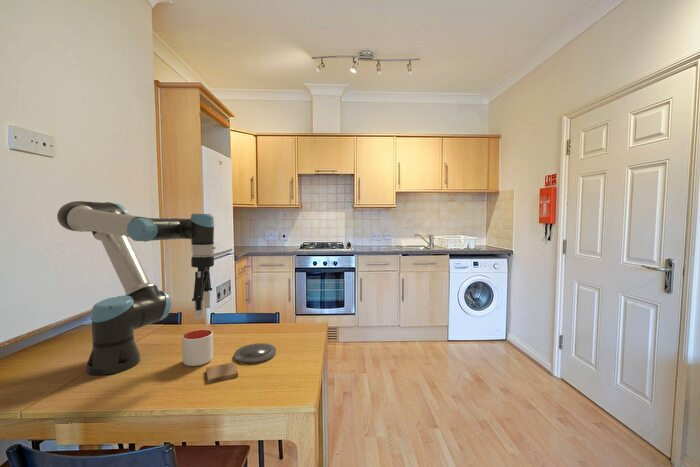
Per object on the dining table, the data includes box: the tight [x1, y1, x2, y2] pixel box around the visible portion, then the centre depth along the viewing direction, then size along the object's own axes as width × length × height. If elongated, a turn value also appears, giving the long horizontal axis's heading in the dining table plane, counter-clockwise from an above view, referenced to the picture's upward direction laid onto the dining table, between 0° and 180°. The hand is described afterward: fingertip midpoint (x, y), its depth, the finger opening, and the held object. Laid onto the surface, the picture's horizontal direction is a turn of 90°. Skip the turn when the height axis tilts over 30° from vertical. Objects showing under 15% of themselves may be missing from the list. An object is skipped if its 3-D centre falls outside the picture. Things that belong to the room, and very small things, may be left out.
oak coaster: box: [205, 362, 239, 384], centre depth 105 cm, size 9×9×1 cm
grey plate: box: [234, 342, 277, 365], centre depth 120 cm, size 15×15×2 cm
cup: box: [181, 329, 214, 367], centre depth 114 cm, size 10×10×10 cm
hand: (202, 313), depth 116 cm, fingers open, 13 cm apart
